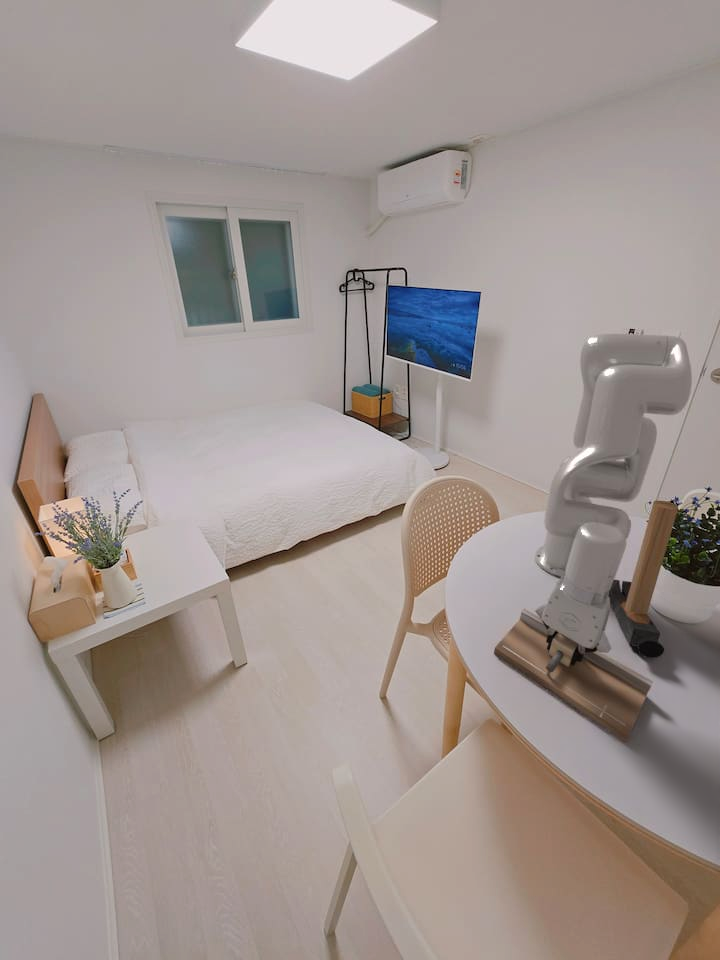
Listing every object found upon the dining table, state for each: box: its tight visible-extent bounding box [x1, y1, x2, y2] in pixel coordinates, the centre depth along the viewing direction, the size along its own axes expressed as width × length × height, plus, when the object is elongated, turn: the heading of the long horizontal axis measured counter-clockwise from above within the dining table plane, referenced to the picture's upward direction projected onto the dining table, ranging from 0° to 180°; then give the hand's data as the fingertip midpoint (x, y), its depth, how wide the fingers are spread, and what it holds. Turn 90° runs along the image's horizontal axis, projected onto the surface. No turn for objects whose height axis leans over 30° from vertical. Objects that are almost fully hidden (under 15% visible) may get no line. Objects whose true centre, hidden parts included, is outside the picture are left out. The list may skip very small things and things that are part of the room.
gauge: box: [546, 632, 578, 676], centre depth 79 cm, size 9×4×4 cm, turn 134°
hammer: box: [608, 500, 679, 659], centre depth 86 cm, size 20×5×30 cm, turn 165°
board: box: [493, 608, 654, 743], centre depth 79 cm, size 12×25×4 cm, turn 44°
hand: (563, 652), depth 82 cm, fingers closed on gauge, 4 cm apart
